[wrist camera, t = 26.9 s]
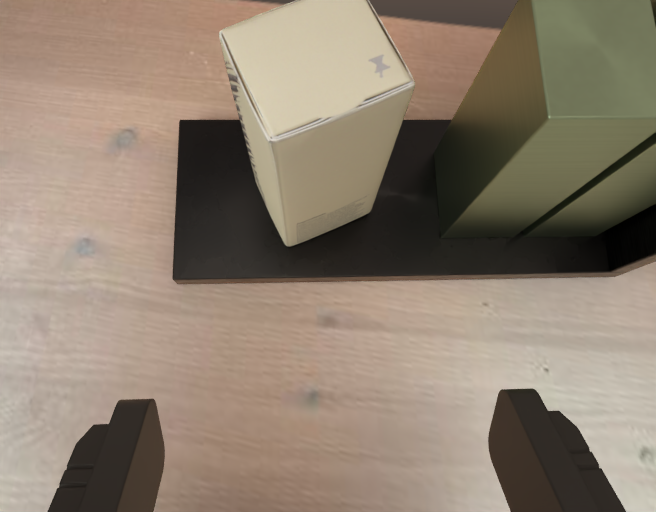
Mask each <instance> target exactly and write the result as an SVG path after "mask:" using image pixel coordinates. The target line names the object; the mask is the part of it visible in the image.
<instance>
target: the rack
mask: <svg viewBox="0 0 656 512" xmlns="http://www.w3.org/2000/svg"><path fill="white" fill-rule="evenodd" d="M655 261H656V0H518V2H517V4H516V6H515V7H514V9H513V11H512V13H511V14H510V16H509V18H508V20H507V22H506V23H505V25H504V27H503V29H502V31H501V32H500V34H499V36H498V38H497V40H496V41H495V43H494V45H493V47H492V49H491V50H490V52H489V54H488V56H487V58H486V59H485V61H484V63H483V65H482V67H481V68H480V70H479V72H478V74H477V76H476V77H475V79H474V81H473V83H472V85H471V87H470V88H469V90H468V92H467V94H466V96H465V97H464V99H463V101H462V103H461V105H460V106H459V108H458V110H457V112H456V114H455V115H454V117H453V119H452V120H403V121H402V124H401V127H400V130H399V133H398V136H397V138H396V141H395V144H394V147H393V150H392V152H391V155H390V158H389V161H388V164H387V167H386V170H385V173H384V175H383V178H382V181H381V184H380V187H379V190H378V192H377V195H376V198H375V201H374V204H373V207H372V209H371V211H370V212H369V213H368V214H366V215H364V216H361V217H359V218H357V219H355V220H353V221H351V222H348V223H346V224H344V225H342V226H339V227H337V228H335V229H333V230H330V231H328V232H326V233H323V234H321V235H318V236H316V237H314V238H311V239H309V240H306V241H304V242H301V243H299V244H296V245H293V246H290V247H289V246H286V245H285V243H284V242H283V240H282V238H281V236H280V234H279V232H278V230H277V228H276V226H275V224H274V222H273V220H272V218H271V216H270V214H269V211H268V209H267V207H266V205H265V202H264V200H263V198H262V195H261V193H260V191H259V188H258V186H257V183H256V181H255V176H254V172H253V169H252V165H251V161H250V157H249V153H248V149H247V145H246V141H245V137H244V133H243V129H242V126H241V121H240V120H180V121H179V143H178V167H177V190H176V213H175V236H174V259H173V280H174V281H175V282H176V283H177V284H214V283H272V282H331V281H389V280H448V279H506V278H564V277H615V276H618V275H621V274H623V273H626V272H629V271H631V270H634V269H637V268H639V267H642V266H644V265H647V264H650V263H652V262H655Z"/></svg>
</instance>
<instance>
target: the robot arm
mask: <svg viewBox="0 0 656 512" xmlns="http://www.w3.org/2000/svg"><path fill="white" fill-rule="evenodd" d="M488 442H489V452H490V457H491V460H492V463H493V466H494V468H495V471H496V474H497V476H498V479H499V482H500V484H501V487H502V489H503V492H504V495H505V497H506V500H507V503H508V505H509V508H510V511H511V512H626V511H625V509H624V507H623V505H622V504H621V502H620V500H619V498H618V497H617V495H616V493H615V492H614V490H613V488H612V486H611V485H610V483H609V481H608V479H607V478H606V476H605V474H604V473H603V471H602V469H600V468H599V464H598V462H597V460H596V459H595V457H594V455H593V453H592V452H590V451H589V447H588V445H587V443H586V441H585V440H584V438H583V436H582V434H581V433H580V431H579V429H578V428H577V427H576V426H575V425H574V424H573V423H572V422H571V421H570V420H569V419H567V418H566V417H565V416H564V415H563V414H562V413H561V412H560V411H548V410H547V409H546V407H545V405H544V403H543V401H542V399H541V397H540V395H539V394H538V392H537V391H536V390H535V389H506V390H501V391H500V392H499V394H498V398H497V402H496V406H495V410H494V415H493V419H492V423H491V427H490V431H489V440H488ZM164 457H165V449H164V441H163V436H162V431H161V426H160V421H159V416H158V411H157V406H156V402H155V400H154V399H133V400H119V401H118V403H117V405H116V407H115V410H114V412H113V415H112V418H111V420H110V423H109V424H100V425H93V426H92V427H91V428H90V429H89V430H88V431H87V433H86V434H85V435H84V436H83V437H82V438H81V439H80V440H79V441H78V442H77V444H76V445H75V448H74V450H73V453H72V455H71V457H70V460H69V462H68V465H67V470H65V472H64V474H63V476H62V479H61V481H60V486H59V488H57V491H56V493H55V495H54V498H53V500H52V503H51V505H50V507H49V510H48V512H153V511H154V507H155V503H156V498H157V494H158V490H159V486H160V482H161V477H162V473H163V468H164Z"/></svg>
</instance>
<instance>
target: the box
mask: <svg viewBox="0 0 656 512" xmlns="http://www.w3.org/2000/svg"><path fill="white" fill-rule="evenodd" d="M219 38H220V42H221V47H222V51H223V56H224V60H225V65H226V69H227V73H228V77H229V81H230V85H231V89H232V93H233V96H234V100H235V103H236V107H237V111H238V115H239V118H240V121H241V126H242V129H243V133H244V137H245V141H246V145H247V149H248V153H249V157H250V161H251V165H252V169H253V172H254V176H255V181H256V183H257V186H258V188H259V191H260V193H261V195H262V198H263V200H264V202H265V205H266V207H267V209H268V211H269V214H270V216H271V218H272V220H273V222H274V224H275V226H276V228H277V230H278V232H279V234H280V236H281V238H282V240H283V242H284V243H285V245H286V246H289V247H290V246H293V245H296V244H299V243H301V242H304V241H306V240H309V239H311V238H314V237H316V236H318V235H321V234H323V233H326V232H328V231H330V230H333V229H335V228H337V227H339V226H342V225H344V224H346V223H348V222H351V221H353V220H355V219H357V218H359V217H361V216H364V215H366V214H368V213H369V212H370V211H371V209H372V207H373V204H374V201H375V198H376V195H377V192H378V190H379V187H380V184H381V181H382V178H383V175H384V173H385V170H386V167H387V164H388V161H389V158H390V155H391V152H392V150H393V147H394V144H395V141H396V138H397V136H398V133H399V130H400V127H401V124H402V121H403V118H404V116H405V113H406V110H407V107H408V104H409V102H410V99H411V96H412V93H413V91H414V88H415V81H414V79H413V76H412V74H411V73H410V71H409V69H408V67H407V66H406V64H405V62H404V60H403V58H402V57H401V55H400V53H399V51H398V49H397V48H396V46H395V44H394V42H393V40H392V39H391V37H390V35H389V34H388V32H387V30H386V28H385V26H384V25H383V23H382V21H381V20H380V18H379V16H378V15H377V13H376V12H375V10H374V8H373V6H372V5H371V3H370V1H369V0H297V1H294V2H291V3H288V4H285V5H283V6H280V7H277V8H275V9H272V10H269V11H267V12H265V13H262V14H259V15H256V16H254V17H251V18H249V19H247V20H244V21H242V22H239V23H237V24H235V25H232V26H230V27H227V28H224V29H223V30H221V31H220V33H219Z"/></svg>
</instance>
